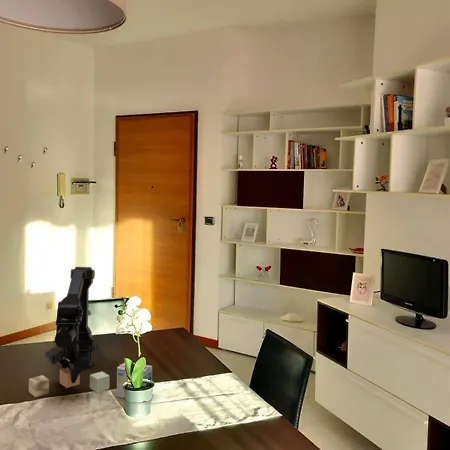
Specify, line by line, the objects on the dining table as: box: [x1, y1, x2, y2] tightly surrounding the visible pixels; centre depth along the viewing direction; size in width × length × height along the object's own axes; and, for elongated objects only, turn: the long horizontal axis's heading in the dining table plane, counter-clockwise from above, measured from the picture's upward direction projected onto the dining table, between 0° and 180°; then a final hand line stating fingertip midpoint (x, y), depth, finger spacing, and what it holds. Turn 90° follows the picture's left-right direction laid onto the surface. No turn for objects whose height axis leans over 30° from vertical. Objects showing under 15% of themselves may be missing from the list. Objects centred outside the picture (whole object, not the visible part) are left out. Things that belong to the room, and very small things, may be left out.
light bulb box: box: [116, 362, 153, 399], centre depth 184 cm, size 11×7×11 cm, turn 71°
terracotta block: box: [59, 368, 81, 389], centre depth 186 cm, size 5×5×5 cm
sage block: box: [89, 371, 111, 393], centre depth 189 cm, size 5×5×5 cm
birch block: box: [28, 375, 50, 398], centre depth 184 cm, size 5×5×5 cm
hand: (69, 380), depth 186 cm, fingers closed on terracotta block, 5 cm apart
